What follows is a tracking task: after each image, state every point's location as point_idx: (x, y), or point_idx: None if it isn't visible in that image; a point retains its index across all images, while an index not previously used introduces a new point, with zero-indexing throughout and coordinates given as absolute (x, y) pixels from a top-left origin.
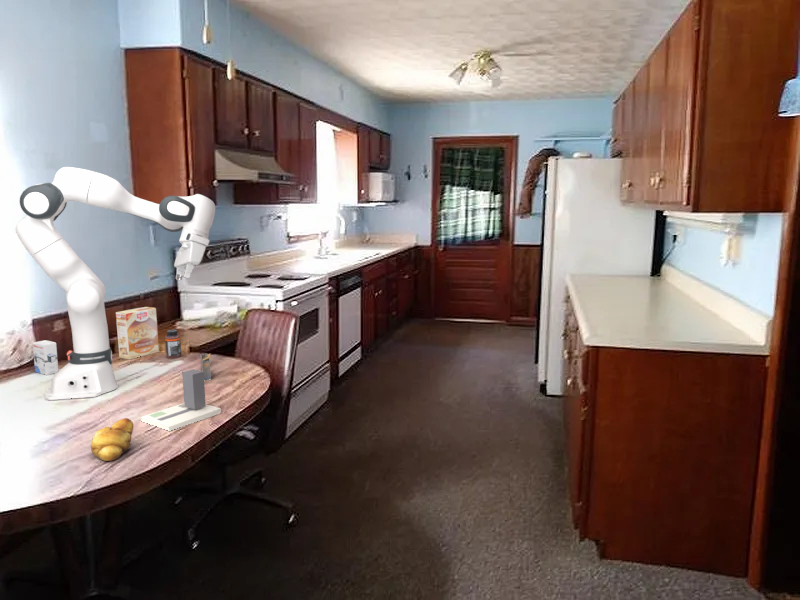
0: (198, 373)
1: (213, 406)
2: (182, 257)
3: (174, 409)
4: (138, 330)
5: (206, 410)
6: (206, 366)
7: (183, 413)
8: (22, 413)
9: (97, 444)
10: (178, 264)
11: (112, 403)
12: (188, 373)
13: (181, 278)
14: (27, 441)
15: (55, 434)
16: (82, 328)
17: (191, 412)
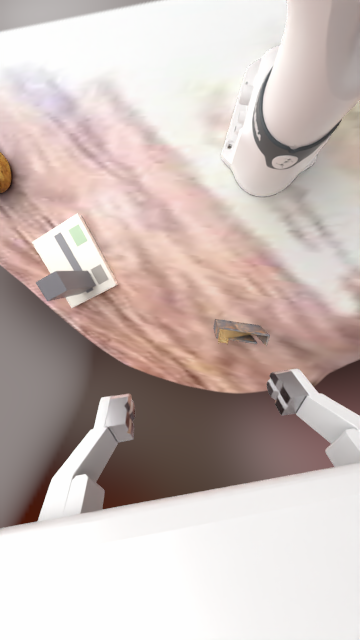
0: (42, 292)
1: (81, 302)
2: (294, 626)
3: (89, 258)
4: None
5: None
6: (216, 329)
7: (70, 265)
8: (196, 25)
9: None
10: (338, 475)
11: (174, 182)
12: (45, 278)
13: (271, 395)
14: (61, 54)
15: (75, 96)
16: None
17: None
